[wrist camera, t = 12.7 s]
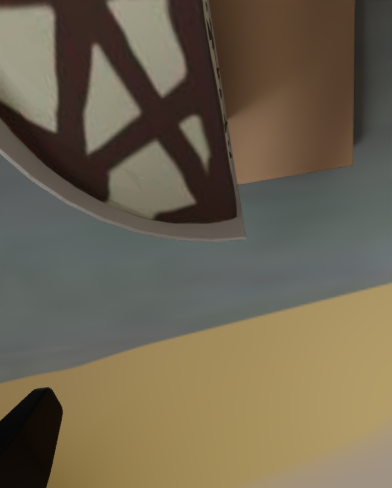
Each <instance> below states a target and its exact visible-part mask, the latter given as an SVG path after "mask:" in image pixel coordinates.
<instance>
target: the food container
mask: <svg viewBox="0 0 392 488" xmlns="http://www.w3.org/2000/svg"><path fill="white" fill-rule="evenodd" d="M0 154H1V155H2V156H3V157H5V158H6V159H7V160H8V161H9V162H10V163H12V164H13V165H14V166H15V167H16V168H17V169H19V170H20V171H21V172H22V173H23V174H24V175H26V176H27V177H28V178H29V179H30V180H31V181H33V182H34V183H36V184H37V185H39V186H41V187H42V188H44V189H45V190H47V191H48V192H50V193H51V194H53V195H54V196H56V197H57V198H59V199H60V200H62V201H63V202H65V203H66V204H68V205H70V206H72V207H74V208H76V209H78V210H80V211H82V212H84V213H86V214H89V215H91V216H93V217H95V218H97V219H99V220H101V221H103V222H106V223H109V224H112V225H115V226H118V227H121V228H124V229H127V230H130V231H133V232H136V233H139V234H145V235H150V236H155V237H160V238H166V239H171V240H179V241H198V242H222V241H234V240H246V234H245V228H244V222H243V216H242V209H241V203H240V197H239V191H238V184H237V178H236V172H235V165H234V159H233V153H232V147H231V140H230V134H229V128H228V122H227V115H226V109H225V102H224V96H223V90H222V83H221V77H220V70H219V64H218V57H217V51H216V45H215V38H214V32H213V25H212V19H211V12H210V6H209V0H0Z"/></svg>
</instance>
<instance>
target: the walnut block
mask: <svg viewBox="0 0 392 488" xmlns="http://www.w3.org/2000/svg"><path fill="white" fill-rule="evenodd" d="M209 6H210V12H211V19H212V25H213V32H214V38H215V45H216V51H217V57H218V64H219V70H220V77H221V83H222V90H223V96H224V102H225V109H226V115H227V122H228V128H229V134H230V140H231V147H232V153H233V159H234V165H235V172H236V178H237V184H244V183H250V182H256V181H262V180H269V179H275V178H281V177H287V176H293V175H299V174H305V173H311V172H317V171H323V170H329V169H335V168H341V167H347V166H353V112H354V34H355V0H209Z"/></svg>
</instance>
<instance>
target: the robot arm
mask: <svg viewBox="0 0 392 488" xmlns="http://www.w3.org/2000/svg"><path fill="white" fill-rule="evenodd" d="M62 415H63V410H62V406H61V404H60V402H59V401H58V399H57V397H56V395H55V394H54V392H53V390H52V389H51V388H49V387H46V388H38V389H34V390H33V391H32V392H31V393H30V394H28V395H27V396H26V397H25V398H24V399H23V400H22V401H21V402H20V403H19V404H18V405H17V406H16V407H15V408H13V409H12V410H11V411H10V412H9V413H8V414H7V415H6V416H5V417H4V418H3V419H2V420H1V421H0V488H46V487H47V483H48V480H49V476H50V472H51V468H52V464H53V459H54V454H55V449H56V445H57V440H58V435H59V430H60V426H61V421H62Z"/></svg>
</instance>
